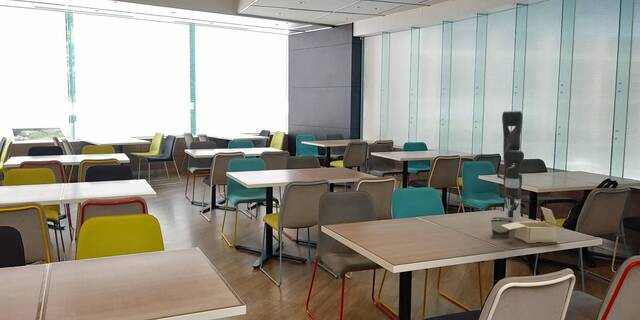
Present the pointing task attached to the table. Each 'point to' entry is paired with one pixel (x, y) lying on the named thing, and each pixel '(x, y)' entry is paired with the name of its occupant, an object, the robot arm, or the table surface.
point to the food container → (497, 228)
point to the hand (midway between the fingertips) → (510, 217)
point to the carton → (537, 232)
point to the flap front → (513, 225)
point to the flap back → (548, 215)
